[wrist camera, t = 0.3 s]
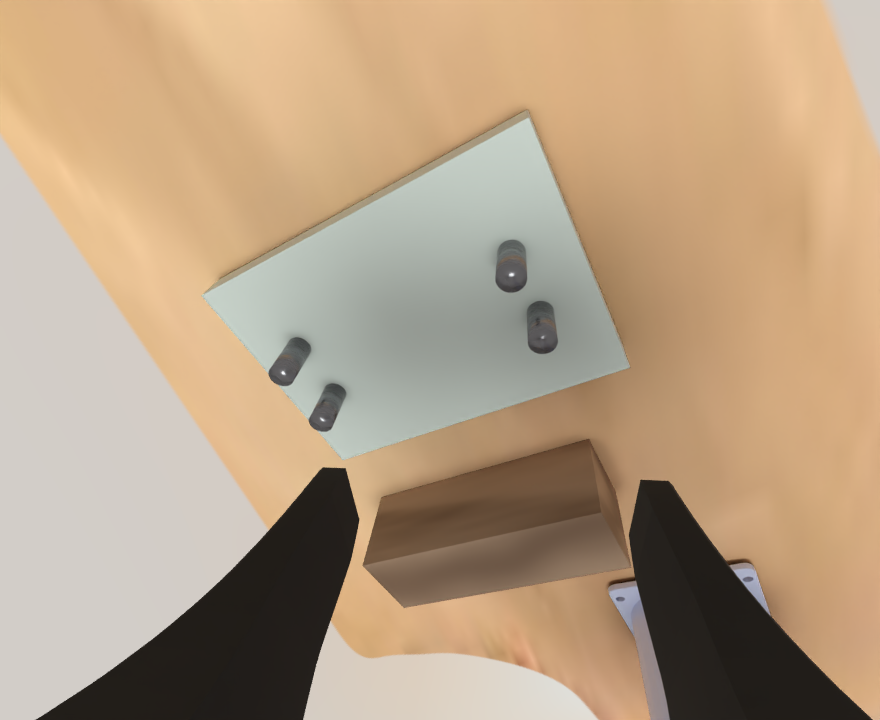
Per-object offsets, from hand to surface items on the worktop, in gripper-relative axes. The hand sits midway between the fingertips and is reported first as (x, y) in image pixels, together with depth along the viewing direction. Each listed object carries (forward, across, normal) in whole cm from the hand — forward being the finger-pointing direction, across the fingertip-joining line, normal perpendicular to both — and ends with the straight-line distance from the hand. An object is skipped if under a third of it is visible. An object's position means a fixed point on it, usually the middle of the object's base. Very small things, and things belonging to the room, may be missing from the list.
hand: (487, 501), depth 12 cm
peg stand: (+10, +3, 0) cm, 10 cm away
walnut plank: (+10, 0, +11) cm, 15 cm away
